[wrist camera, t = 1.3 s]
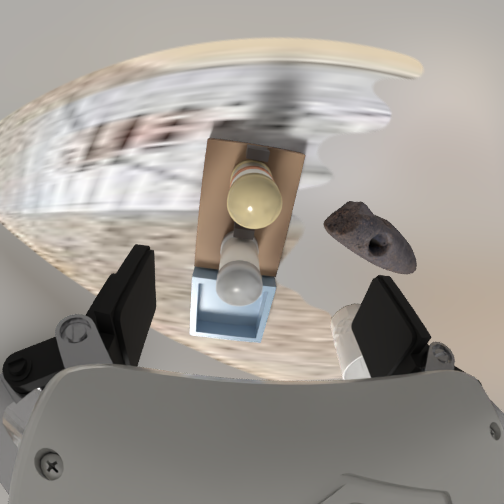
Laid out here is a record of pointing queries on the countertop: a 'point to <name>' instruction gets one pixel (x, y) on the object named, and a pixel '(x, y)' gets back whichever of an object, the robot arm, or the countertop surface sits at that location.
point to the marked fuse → (253, 195)
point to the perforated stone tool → (371, 238)
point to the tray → (227, 310)
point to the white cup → (348, 344)
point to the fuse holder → (216, 193)
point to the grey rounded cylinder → (239, 271)
